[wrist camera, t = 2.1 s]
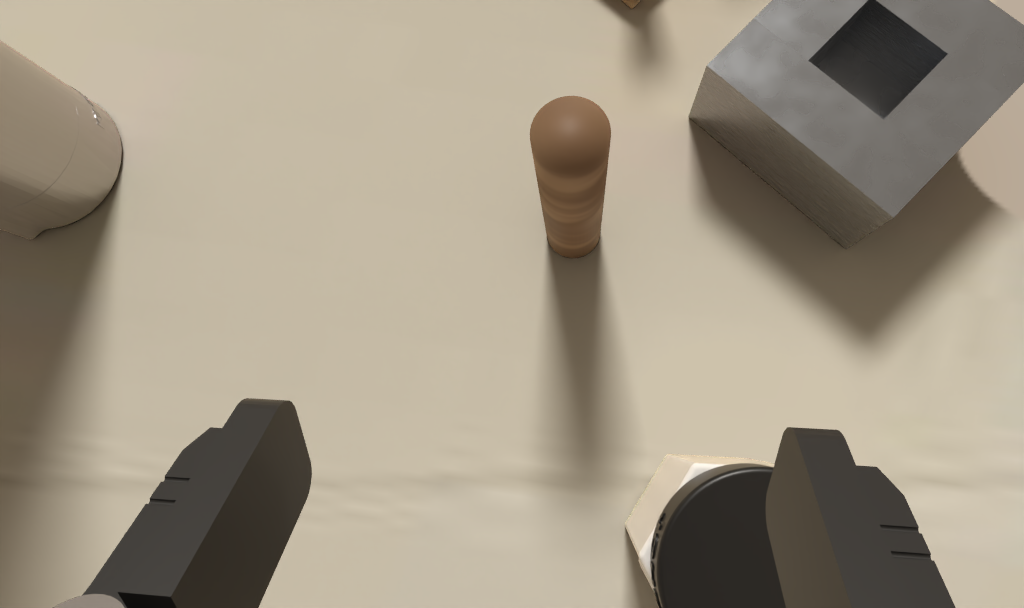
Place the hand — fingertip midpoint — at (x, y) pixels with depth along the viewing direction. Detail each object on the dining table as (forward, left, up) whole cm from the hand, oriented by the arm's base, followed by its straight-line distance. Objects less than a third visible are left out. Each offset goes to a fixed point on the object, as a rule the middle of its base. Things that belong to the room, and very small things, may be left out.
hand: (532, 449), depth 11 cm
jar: (+2, -9, -28) cm, 30 cm away
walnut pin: (+9, +8, -28) cm, 30 cm away
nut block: (+25, +2, -28) cm, 37 cm away
